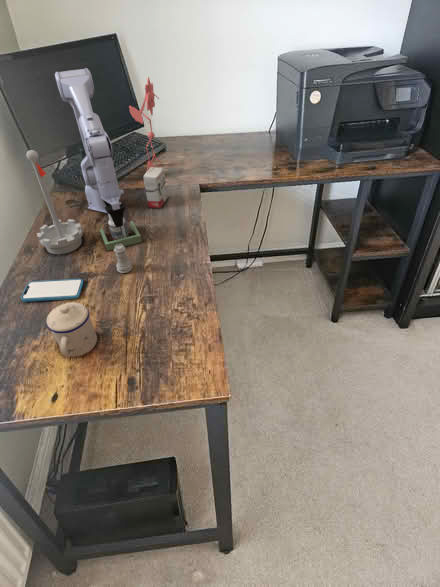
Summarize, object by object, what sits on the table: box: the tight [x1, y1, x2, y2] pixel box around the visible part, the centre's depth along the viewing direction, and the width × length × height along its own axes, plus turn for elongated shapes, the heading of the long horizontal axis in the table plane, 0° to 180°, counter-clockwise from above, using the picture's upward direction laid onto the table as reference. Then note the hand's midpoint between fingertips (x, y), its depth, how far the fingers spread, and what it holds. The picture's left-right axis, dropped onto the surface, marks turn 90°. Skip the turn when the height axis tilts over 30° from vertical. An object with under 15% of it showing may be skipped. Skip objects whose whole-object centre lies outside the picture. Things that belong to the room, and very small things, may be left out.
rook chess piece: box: [113, 244, 133, 274], centre depth 108 cm, size 4×4×8 cm
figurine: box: [128, 76, 182, 183], centre depth 150 cm, size 15×26×35 cm, turn 177°
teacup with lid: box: [46, 301, 98, 358], centre depth 85 cm, size 12×9×12 cm
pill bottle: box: [107, 213, 130, 241], centre depth 121 cm, size 5×5×9 cm
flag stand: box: [25, 149, 84, 255], centre depth 112 cm, size 13×13×30 cm
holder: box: [99, 220, 143, 252], centre depth 123 cm, size 10×11×2 cm
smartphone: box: [20, 278, 84, 303], centre depth 104 cm, size 8×1×15 cm
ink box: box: [142, 166, 168, 209], centre depth 137 cm, size 9×5×12 cm, turn 168°
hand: (116, 220), depth 120 cm, fingers open, 7 cm apart
